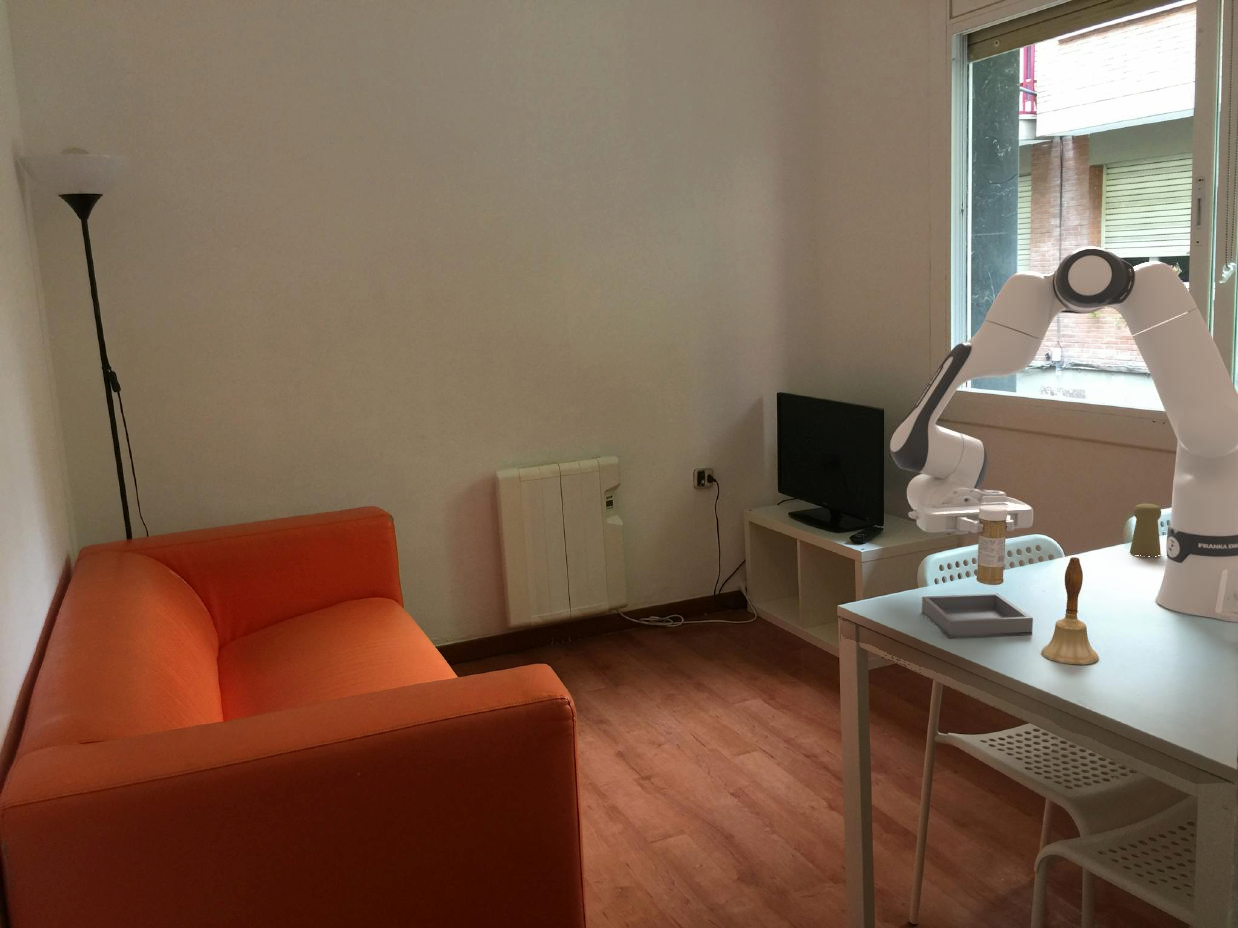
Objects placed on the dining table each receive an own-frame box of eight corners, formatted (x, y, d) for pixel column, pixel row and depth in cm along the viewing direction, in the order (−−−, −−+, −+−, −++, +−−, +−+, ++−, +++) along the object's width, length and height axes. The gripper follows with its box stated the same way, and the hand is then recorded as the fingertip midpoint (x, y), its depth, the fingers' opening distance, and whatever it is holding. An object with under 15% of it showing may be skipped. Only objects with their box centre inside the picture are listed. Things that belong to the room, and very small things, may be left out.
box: (997, 609, 179) (998, 593, 178) (1032, 634, 165) (1032, 617, 164) (921, 612, 178) (922, 596, 178) (950, 638, 164) (950, 621, 164)
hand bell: (1045, 643, 161) (1048, 549, 158) (1101, 651, 157) (1105, 554, 154) (1037, 660, 154) (1041, 562, 151) (1096, 668, 150) (1101, 567, 147)
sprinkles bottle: (990, 576, 174) (993, 503, 171) (1009, 583, 170) (1013, 508, 167) (970, 580, 172) (973, 506, 170) (989, 587, 168) (993, 511, 165)
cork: (1166, 557, 209) (1169, 506, 207) (1138, 558, 209) (1140, 507, 207) (1152, 550, 215) (1154, 501, 213) (1124, 550, 215) (1126, 501, 213)
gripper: (904, 495, 180) (937, 512, 166) (1010, 490, 182) (1051, 506, 169) (903, 529, 181) (936, 548, 167) (1008, 523, 183) (1048, 542, 170)
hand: (994, 527), depth 168 cm, fingers closed on sprinkles bottle, 4 cm apart
